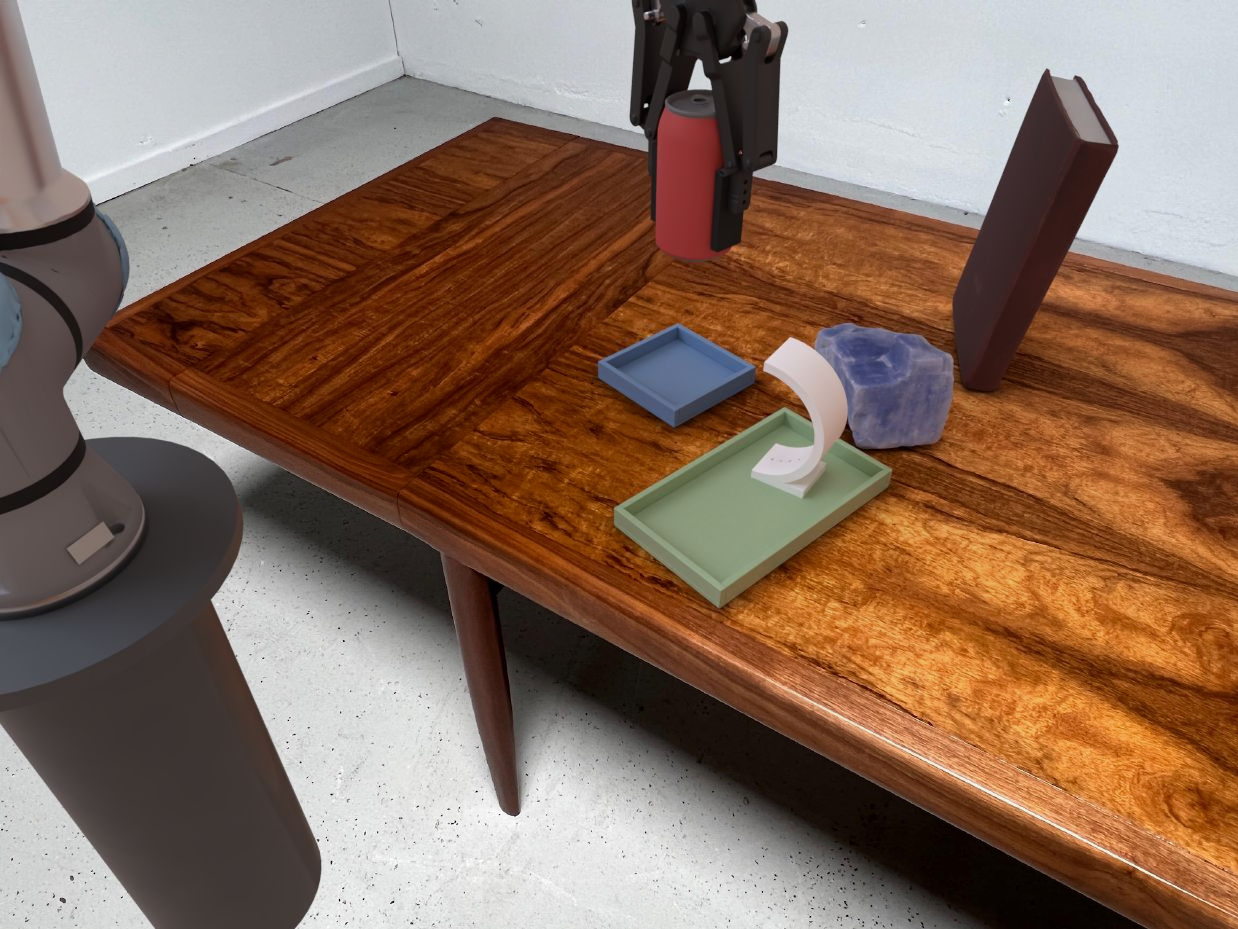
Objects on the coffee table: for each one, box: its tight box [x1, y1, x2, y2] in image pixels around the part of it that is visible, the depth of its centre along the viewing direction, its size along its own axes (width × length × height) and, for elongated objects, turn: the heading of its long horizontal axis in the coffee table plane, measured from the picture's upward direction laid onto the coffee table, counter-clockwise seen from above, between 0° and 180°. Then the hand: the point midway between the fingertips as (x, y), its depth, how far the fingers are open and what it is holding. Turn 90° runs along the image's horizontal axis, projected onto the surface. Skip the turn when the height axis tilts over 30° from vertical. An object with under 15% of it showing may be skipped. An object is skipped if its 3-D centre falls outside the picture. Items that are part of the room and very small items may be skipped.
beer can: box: [655, 88, 742, 263], centre depth 72 cm, size 7×7×12 cm
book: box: [951, 68, 1120, 393], centre depth 87 cm, size 17×26×4 cm
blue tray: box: [597, 322, 757, 428], centre depth 91 cm, size 11×11×2 cm
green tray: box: [613, 406, 893, 610], centre depth 77 cm, size 21×12×2 cm, turn 131°
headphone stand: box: [751, 336, 848, 499], centre depth 76 cm, size 5×6×12 cm
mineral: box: [814, 322, 955, 450], centre depth 86 cm, size 14×10×10 cm
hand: (694, 230), depth 75 cm, fingers closed on beer can, 6 cm apart
